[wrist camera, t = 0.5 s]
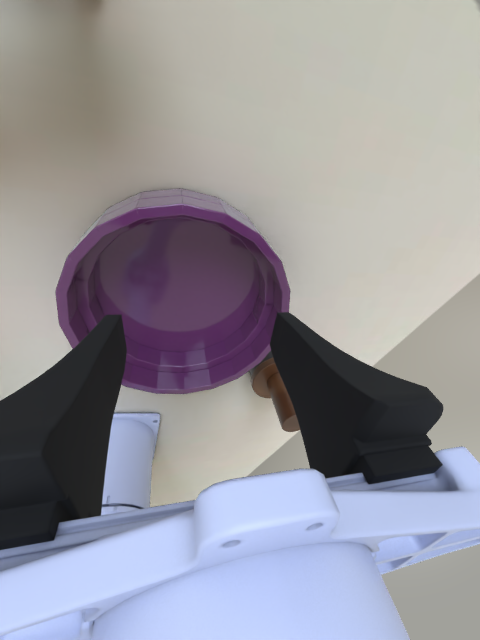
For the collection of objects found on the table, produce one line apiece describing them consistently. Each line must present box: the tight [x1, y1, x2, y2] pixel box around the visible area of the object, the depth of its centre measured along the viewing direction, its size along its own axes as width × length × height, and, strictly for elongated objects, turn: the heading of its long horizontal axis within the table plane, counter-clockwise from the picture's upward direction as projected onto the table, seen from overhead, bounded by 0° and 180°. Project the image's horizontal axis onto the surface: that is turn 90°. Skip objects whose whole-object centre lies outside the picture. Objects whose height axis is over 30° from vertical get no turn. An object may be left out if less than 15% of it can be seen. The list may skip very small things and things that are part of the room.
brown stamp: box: [250, 351, 300, 432], centre depth 27 cm, size 6×6×7 cm
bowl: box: [56, 188, 290, 394], centre depth 21 cm, size 15×15×4 cm
